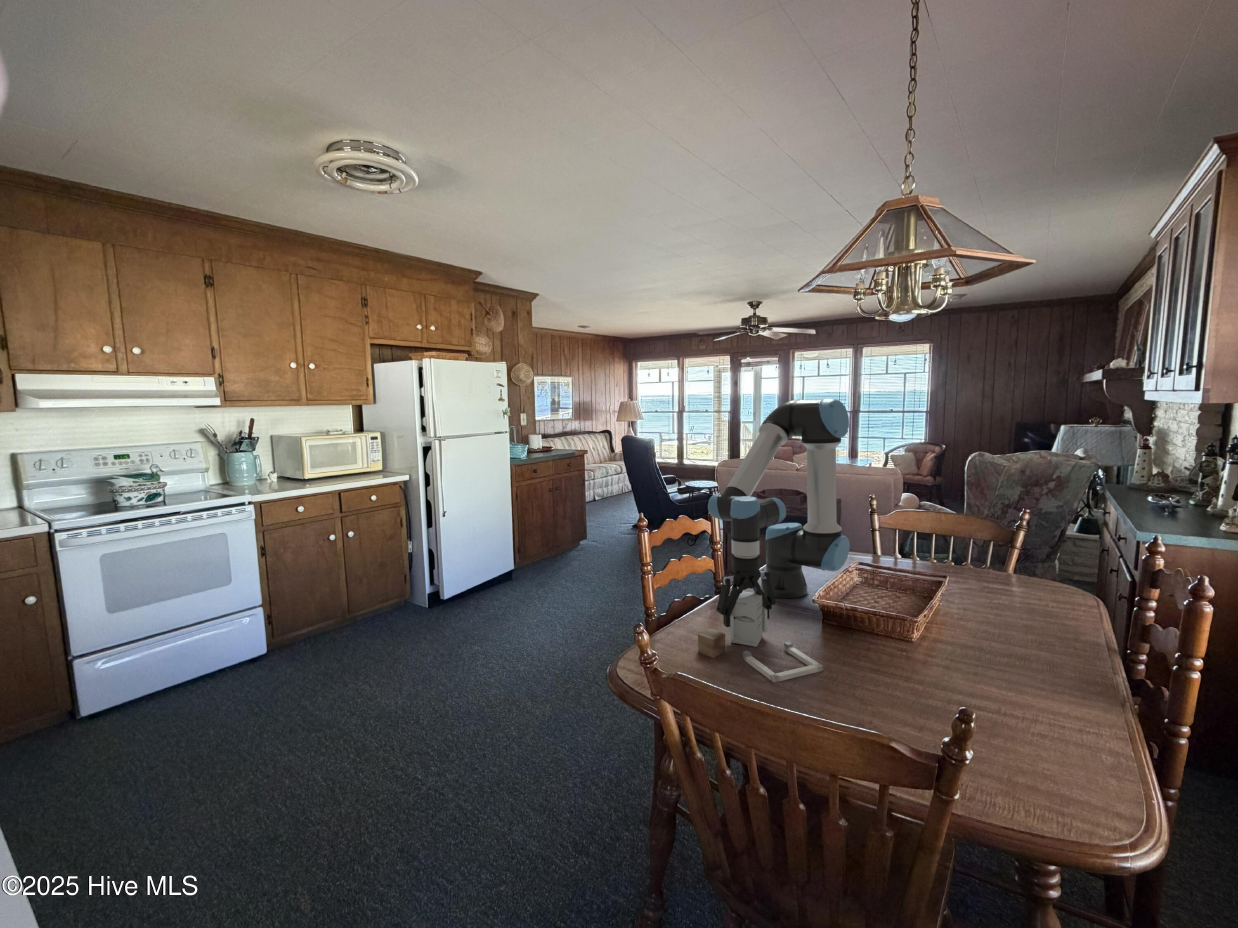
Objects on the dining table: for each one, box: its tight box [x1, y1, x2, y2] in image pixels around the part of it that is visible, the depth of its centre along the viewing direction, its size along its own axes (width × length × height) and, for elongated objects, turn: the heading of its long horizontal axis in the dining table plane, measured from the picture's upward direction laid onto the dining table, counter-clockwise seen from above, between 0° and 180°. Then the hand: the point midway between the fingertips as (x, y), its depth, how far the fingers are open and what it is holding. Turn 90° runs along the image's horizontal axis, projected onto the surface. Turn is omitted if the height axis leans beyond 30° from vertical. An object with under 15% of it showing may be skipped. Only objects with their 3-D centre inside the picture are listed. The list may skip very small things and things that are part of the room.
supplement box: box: [730, 590, 764, 648], centre depth 150 cm, size 7×7×13 cm
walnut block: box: [697, 628, 726, 659], centre depth 145 cm, size 5×5×5 cm
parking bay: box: [742, 641, 824, 684], centre depth 136 cm, size 14×13×2 cm
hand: (746, 633), depth 151 cm, fingers closed on supplement box, 10 cm apart
